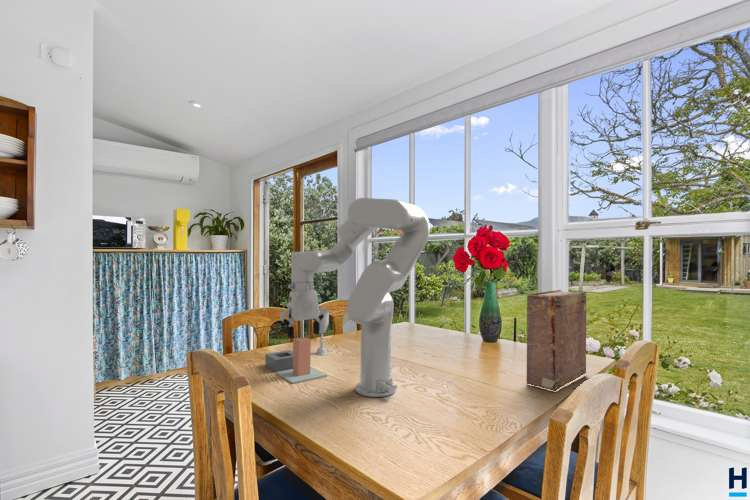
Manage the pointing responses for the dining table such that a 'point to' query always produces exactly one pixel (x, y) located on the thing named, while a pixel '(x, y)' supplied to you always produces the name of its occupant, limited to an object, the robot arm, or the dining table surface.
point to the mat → (294, 378)
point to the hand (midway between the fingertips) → (303, 335)
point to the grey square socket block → (279, 360)
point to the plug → (301, 356)
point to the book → (555, 338)
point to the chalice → (323, 328)
